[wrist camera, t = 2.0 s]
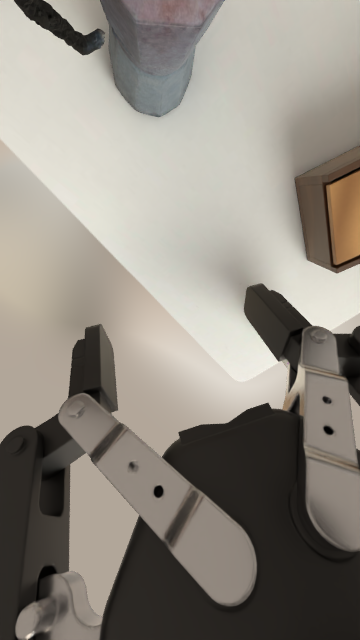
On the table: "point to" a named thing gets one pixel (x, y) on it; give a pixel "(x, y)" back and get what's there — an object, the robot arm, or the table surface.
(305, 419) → the robot arm
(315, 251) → the box
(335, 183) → the lid
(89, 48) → the moka pot
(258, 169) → the table surface
